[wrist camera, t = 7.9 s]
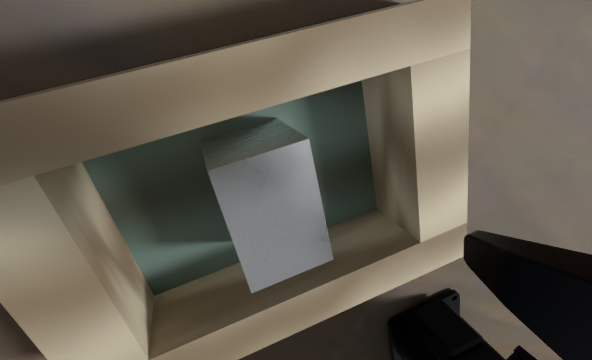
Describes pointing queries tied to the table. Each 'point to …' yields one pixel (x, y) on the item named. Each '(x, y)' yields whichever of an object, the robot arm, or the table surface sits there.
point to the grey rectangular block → (269, 200)
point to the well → (201, 196)
